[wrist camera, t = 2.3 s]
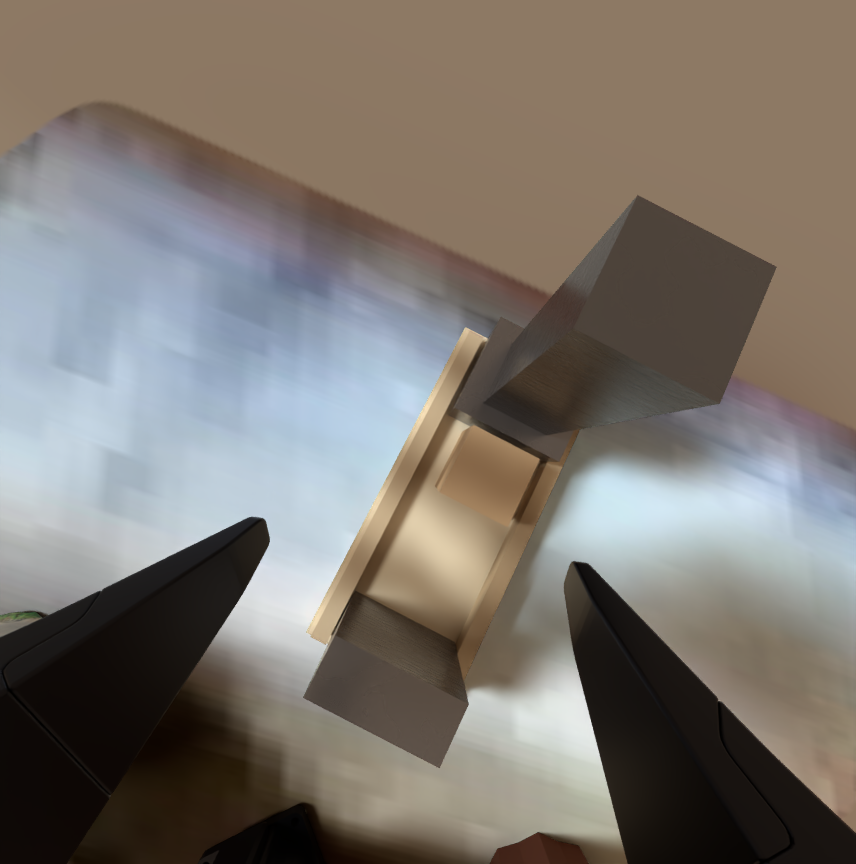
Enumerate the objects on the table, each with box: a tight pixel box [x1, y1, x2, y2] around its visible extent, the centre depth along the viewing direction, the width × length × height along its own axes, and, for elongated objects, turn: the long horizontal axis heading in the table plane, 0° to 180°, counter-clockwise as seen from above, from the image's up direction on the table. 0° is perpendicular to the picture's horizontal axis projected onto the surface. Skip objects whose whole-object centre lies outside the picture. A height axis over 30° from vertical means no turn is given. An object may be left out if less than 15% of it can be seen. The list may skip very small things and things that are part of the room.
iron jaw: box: [303, 591, 469, 768], centre depth 17 cm, size 3×7×5 cm, turn 63°
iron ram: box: [449, 196, 776, 462], centre depth 14 cm, size 6×7×13 cm
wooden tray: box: [306, 327, 580, 681], centre depth 20 cm, size 22×10×2 cm, turn 153°
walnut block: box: [435, 425, 540, 527], centre depth 18 cm, size 4×4×4 cm
